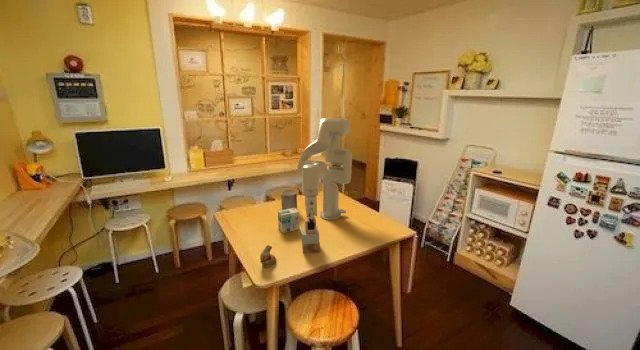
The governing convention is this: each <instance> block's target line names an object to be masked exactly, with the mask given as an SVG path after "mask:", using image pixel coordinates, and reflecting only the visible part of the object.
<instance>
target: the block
mask: <svg viewBox="0 0 640 350" xmlns="http://www.w3.org/2000/svg"><path fill="white" fill-rule="evenodd" d="M309 219H310V217H309ZM314 221H315V229H314V230H308V217H307V216H305V217H304V227H305V232H306V233H315V232H316V226H317V220H316V216H314Z"/></svg>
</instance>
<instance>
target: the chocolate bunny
mask: <svg viewBox="0 0 640 350" xmlns="http://www.w3.org/2000/svg"><path fill="white" fill-rule="evenodd" d="M272 249H273V247H272V245H269V244H267V245H266V246H265V248H264V249H263V250H262V251H261V253H260V255H259V256H260V257H259V259H260V263H261V267H262V268H263V269H266V268H267V269H268V268H271V267H272V266H274V265H275V264H276V263H277V258H276V256H275V254H271V250H272Z"/></svg>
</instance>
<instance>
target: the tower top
mask: <svg viewBox="0 0 640 350" xmlns="http://www.w3.org/2000/svg"><path fill="white" fill-rule="evenodd" d="M319 243H320V230H319V226H317V225H316V232H315V233H306V232H305V226H301V245H302V244H319Z"/></svg>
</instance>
